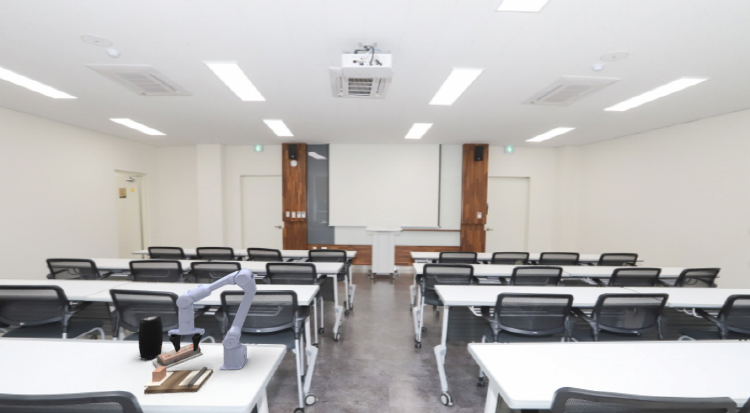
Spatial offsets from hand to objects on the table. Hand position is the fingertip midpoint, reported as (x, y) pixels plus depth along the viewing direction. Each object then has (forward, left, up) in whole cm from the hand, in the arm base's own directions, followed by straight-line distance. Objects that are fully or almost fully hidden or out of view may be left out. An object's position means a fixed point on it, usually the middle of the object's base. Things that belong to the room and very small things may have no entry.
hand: (186, 350), depth 128 cm
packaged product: (+10, -11, -10) cm, 18 cm away
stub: (+7, +8, -8) cm, 13 cm away
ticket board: (-2, +8, -9) cm, 13 cm away
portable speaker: (+25, -14, -10) cm, 30 cm away
